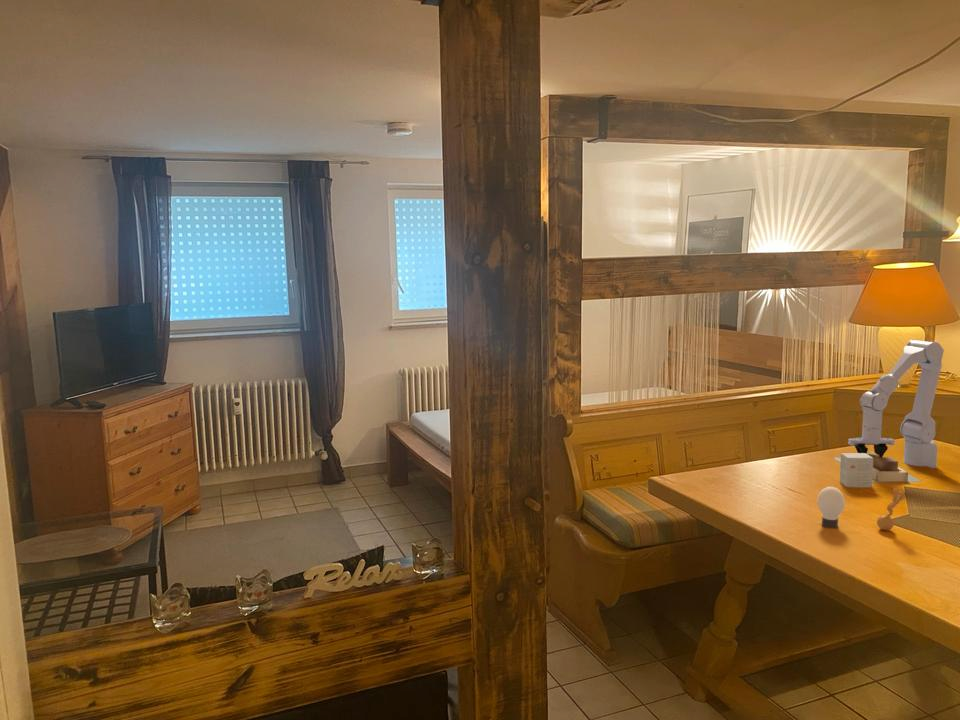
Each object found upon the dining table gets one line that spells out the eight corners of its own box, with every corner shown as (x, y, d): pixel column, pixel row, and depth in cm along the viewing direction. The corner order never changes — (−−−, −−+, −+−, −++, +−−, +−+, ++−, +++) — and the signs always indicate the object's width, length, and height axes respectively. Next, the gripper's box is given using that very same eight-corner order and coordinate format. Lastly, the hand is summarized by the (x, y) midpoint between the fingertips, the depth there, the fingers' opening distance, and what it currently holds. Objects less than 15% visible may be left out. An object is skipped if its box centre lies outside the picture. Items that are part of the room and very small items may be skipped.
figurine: (878, 523, 196) (880, 482, 194) (903, 527, 193) (906, 485, 191) (875, 533, 189) (877, 490, 188) (901, 538, 186) (903, 494, 184)
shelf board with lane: (878, 459, 256) (878, 449, 255) (921, 483, 228) (922, 472, 228) (832, 459, 257) (833, 449, 256) (870, 484, 229) (871, 472, 229)
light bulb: (823, 530, 192) (825, 491, 191) (811, 521, 199) (813, 483, 198) (848, 529, 193) (850, 490, 191) (835, 520, 199) (837, 482, 198)
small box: (864, 484, 229) (866, 452, 228) (872, 489, 224) (874, 457, 222) (838, 484, 230) (840, 452, 229) (845, 489, 225) (847, 457, 223)
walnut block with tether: (874, 465, 246) (875, 449, 245) (896, 479, 231) (898, 461, 230) (859, 466, 246) (860, 449, 245) (881, 479, 231) (882, 461, 230)
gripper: (887, 423, 246) (885, 461, 247) (844, 424, 246) (843, 461, 248) (898, 428, 239) (896, 467, 240) (854, 429, 239) (852, 467, 241)
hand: (869, 465), depth 244 cm, fingers closed on walnut block with tether, 4 cm apart
